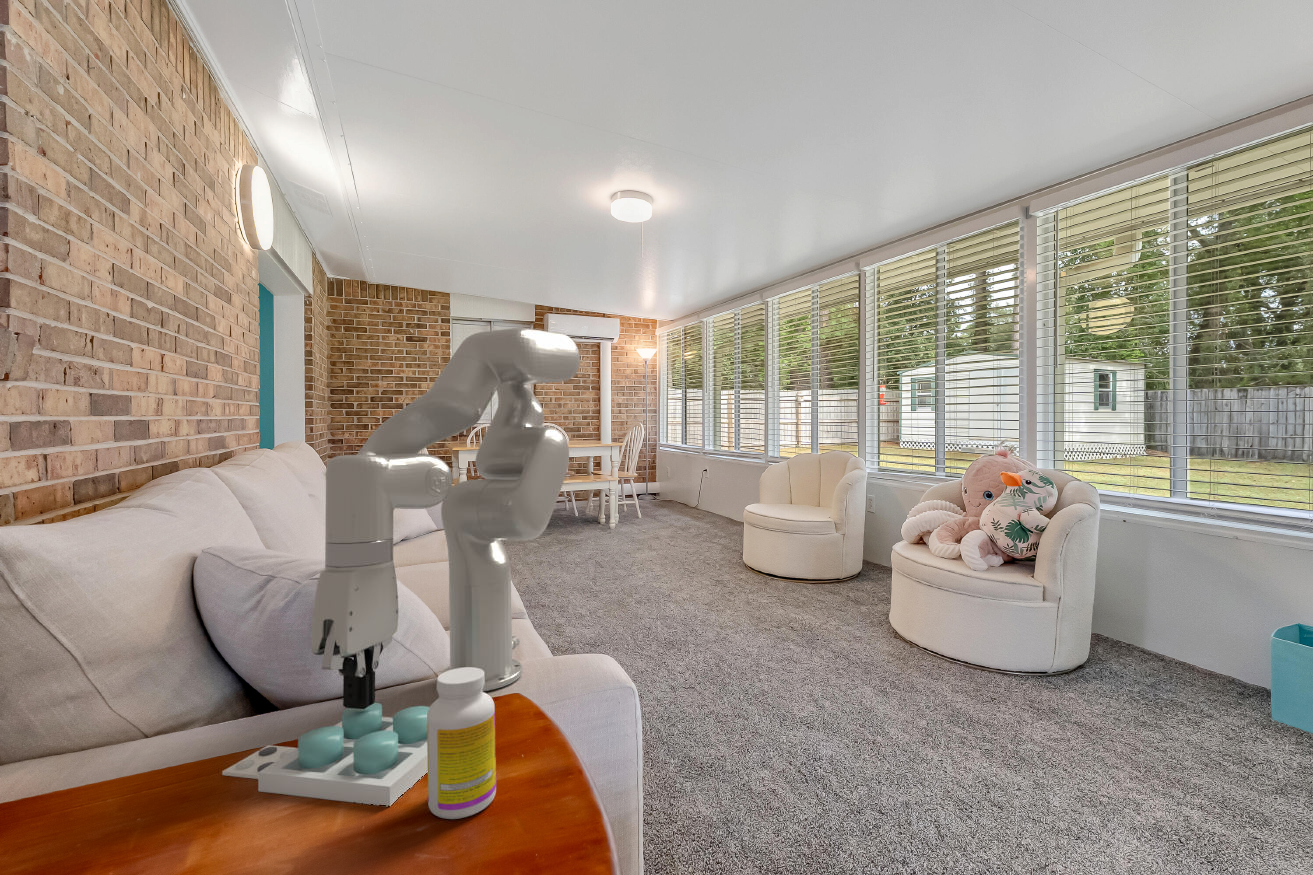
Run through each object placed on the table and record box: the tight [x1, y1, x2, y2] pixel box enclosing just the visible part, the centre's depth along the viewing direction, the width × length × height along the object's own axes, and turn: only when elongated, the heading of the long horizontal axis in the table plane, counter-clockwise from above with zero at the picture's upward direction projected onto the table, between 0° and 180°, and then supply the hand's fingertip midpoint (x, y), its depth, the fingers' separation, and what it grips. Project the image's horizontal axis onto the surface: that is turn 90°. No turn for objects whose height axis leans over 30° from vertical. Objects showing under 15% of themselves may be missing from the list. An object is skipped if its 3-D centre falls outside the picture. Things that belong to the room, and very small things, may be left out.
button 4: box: [392, 705, 430, 744], centre depth 70 cm, size 4×4×2 cm
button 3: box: [353, 731, 398, 774], centre depth 64 cm, size 4×4×2 cm
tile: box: [221, 744, 298, 780], centre depth 68 cm, size 6×6×1 cm
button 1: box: [297, 725, 344, 768], centre depth 65 cm, size 4×4×2 cm
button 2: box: [341, 702, 383, 739], centre depth 71 cm, size 4×4×2 cm
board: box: [257, 716, 428, 807], centre depth 67 cm, size 14×16×2 cm
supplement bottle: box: [427, 667, 497, 820], centre depth 60 cm, size 7×7×13 cm
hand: (359, 705), depth 71 cm, fingers closed
